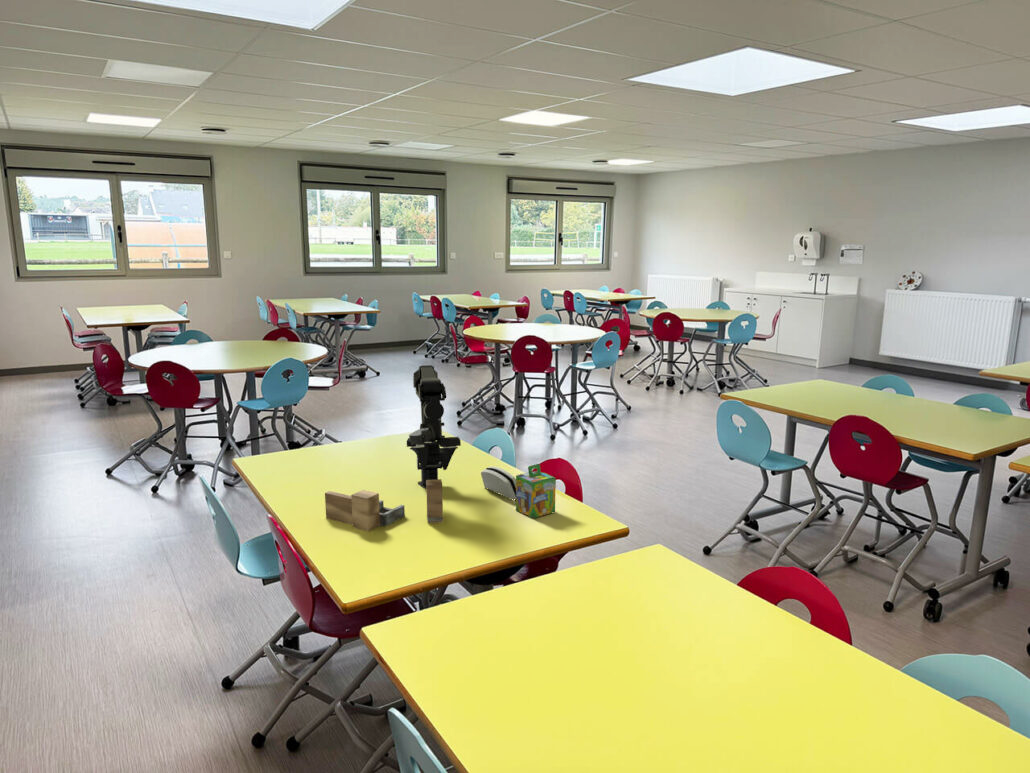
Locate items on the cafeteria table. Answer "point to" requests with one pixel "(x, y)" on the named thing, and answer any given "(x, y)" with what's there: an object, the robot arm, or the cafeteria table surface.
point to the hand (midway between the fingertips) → (434, 469)
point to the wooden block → (434, 501)
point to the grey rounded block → (499, 481)
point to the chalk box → (535, 492)
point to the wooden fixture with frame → (361, 510)
